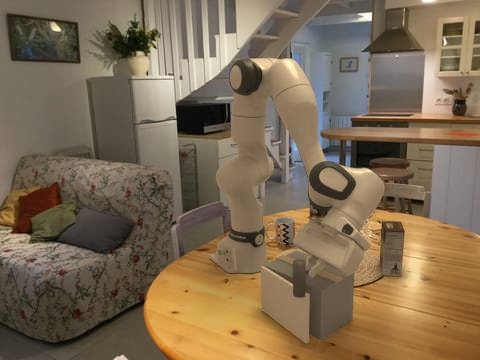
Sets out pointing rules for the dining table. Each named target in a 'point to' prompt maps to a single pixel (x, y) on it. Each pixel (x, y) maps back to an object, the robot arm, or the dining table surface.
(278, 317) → the flap
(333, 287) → the carton
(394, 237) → the coffee box
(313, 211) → the coffee can
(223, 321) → the dining table surface
